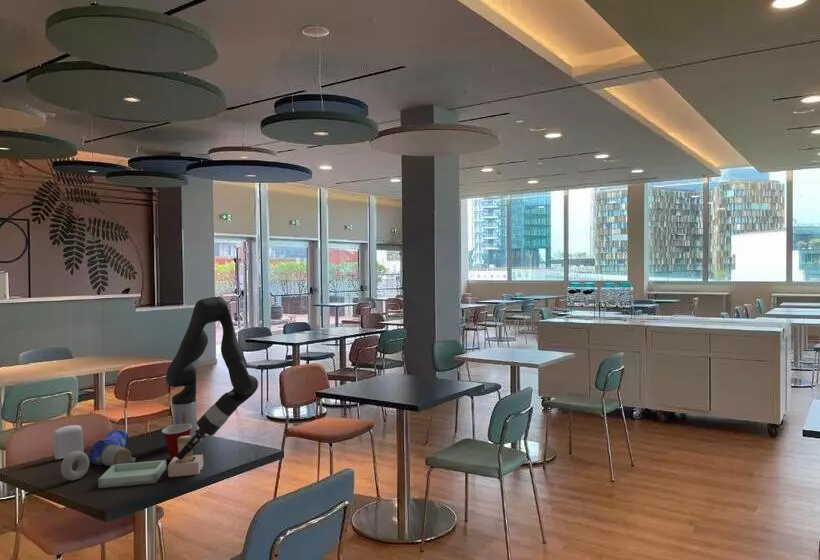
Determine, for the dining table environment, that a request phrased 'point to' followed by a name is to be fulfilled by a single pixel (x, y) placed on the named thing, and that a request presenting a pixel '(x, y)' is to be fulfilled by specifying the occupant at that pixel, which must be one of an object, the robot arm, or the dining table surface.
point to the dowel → (181, 443)
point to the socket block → (185, 467)
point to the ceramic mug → (116, 455)
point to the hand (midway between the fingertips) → (180, 455)
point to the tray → (132, 474)
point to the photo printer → (67, 440)
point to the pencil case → (111, 438)
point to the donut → (68, 461)
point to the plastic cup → (175, 436)
